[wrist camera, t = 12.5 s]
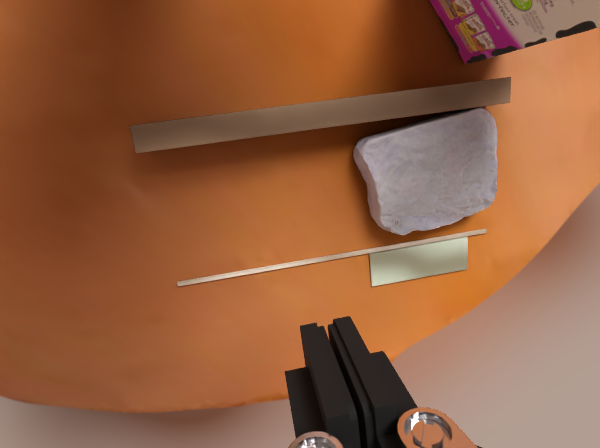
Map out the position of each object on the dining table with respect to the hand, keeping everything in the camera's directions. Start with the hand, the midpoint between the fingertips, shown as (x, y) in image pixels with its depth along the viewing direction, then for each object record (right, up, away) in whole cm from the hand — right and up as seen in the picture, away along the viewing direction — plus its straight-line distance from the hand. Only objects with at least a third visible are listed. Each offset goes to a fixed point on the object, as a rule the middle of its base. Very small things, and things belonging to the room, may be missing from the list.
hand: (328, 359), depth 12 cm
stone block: (+10, +9, +23) cm, 27 cm away
